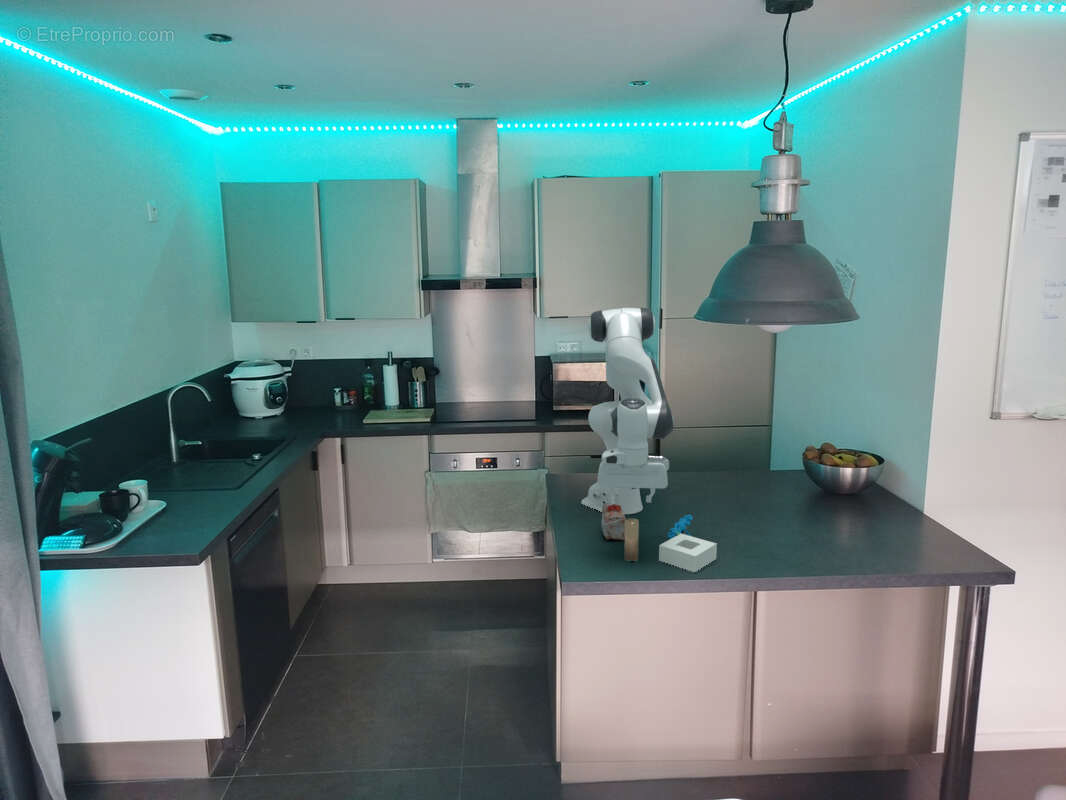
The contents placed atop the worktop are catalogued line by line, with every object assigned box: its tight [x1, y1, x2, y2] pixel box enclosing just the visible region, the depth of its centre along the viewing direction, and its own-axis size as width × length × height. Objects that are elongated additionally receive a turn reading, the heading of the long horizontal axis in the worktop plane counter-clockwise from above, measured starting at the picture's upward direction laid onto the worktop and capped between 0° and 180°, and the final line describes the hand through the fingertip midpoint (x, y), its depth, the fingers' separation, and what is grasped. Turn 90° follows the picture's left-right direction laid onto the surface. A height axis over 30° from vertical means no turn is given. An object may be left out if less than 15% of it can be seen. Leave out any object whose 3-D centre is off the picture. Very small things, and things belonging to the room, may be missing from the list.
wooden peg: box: [624, 517, 640, 562], centre depth 211 cm, size 4×4×12 cm
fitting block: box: [658, 534, 718, 573], centre depth 210 cm, size 12×12×5 cm
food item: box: [600, 503, 627, 541], centre depth 230 cm, size 14×8×10 cm, turn 2°
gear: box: [667, 514, 693, 540], centre depth 226 cm, size 11×6×10 cm
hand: (632, 501), depth 208 cm, fingers open, 8 cm apart
